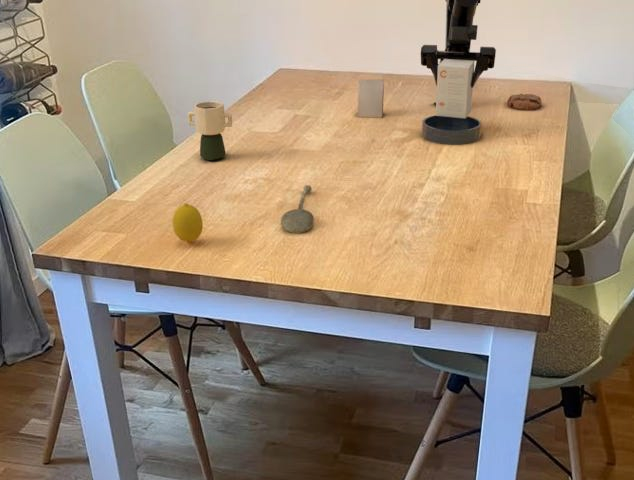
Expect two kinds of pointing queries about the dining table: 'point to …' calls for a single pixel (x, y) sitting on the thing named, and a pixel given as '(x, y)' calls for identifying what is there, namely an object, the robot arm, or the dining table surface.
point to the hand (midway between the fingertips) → (454, 86)
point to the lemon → (187, 223)
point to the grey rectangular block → (370, 98)
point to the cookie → (524, 101)
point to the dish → (451, 129)
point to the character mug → (210, 128)
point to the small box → (454, 88)
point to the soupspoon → (298, 217)
